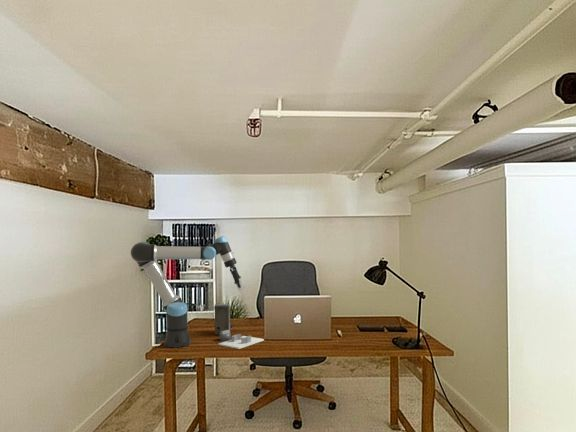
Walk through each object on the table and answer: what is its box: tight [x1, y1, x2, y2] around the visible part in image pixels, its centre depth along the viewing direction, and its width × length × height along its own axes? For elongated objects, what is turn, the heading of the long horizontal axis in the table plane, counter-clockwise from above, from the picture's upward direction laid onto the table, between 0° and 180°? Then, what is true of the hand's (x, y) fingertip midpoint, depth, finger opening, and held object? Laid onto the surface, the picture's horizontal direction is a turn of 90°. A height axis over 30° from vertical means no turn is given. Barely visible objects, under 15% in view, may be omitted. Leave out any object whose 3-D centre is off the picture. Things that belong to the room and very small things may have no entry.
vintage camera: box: [213, 303, 235, 336], centre depth 279 cm, size 10×16×20 cm, turn 174°
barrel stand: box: [217, 333, 265, 350], centre depth 252 cm, size 22×16×4 cm
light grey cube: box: [219, 330, 232, 342], centre depth 260 cm, size 6×6×6 cm
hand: (242, 290), depth 275 cm, fingers open, 13 cm apart
